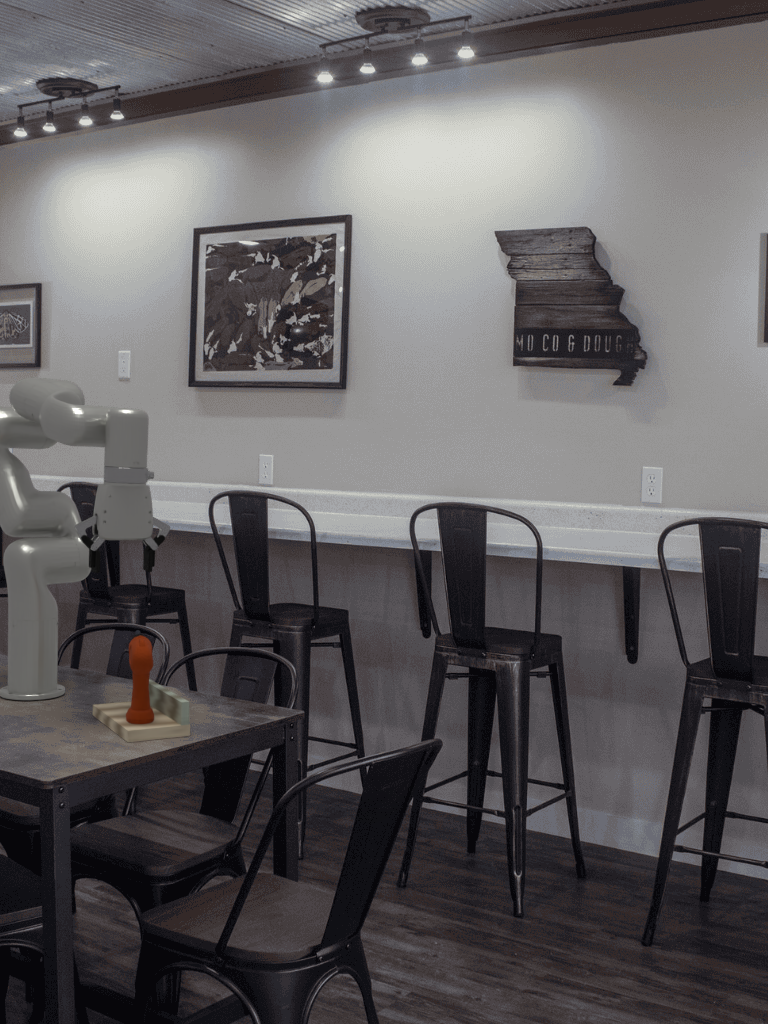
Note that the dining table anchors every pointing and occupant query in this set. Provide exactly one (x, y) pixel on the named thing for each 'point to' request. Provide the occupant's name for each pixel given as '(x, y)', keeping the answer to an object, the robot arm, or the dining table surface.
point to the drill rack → (167, 716)
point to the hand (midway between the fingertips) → (121, 571)
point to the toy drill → (140, 680)
